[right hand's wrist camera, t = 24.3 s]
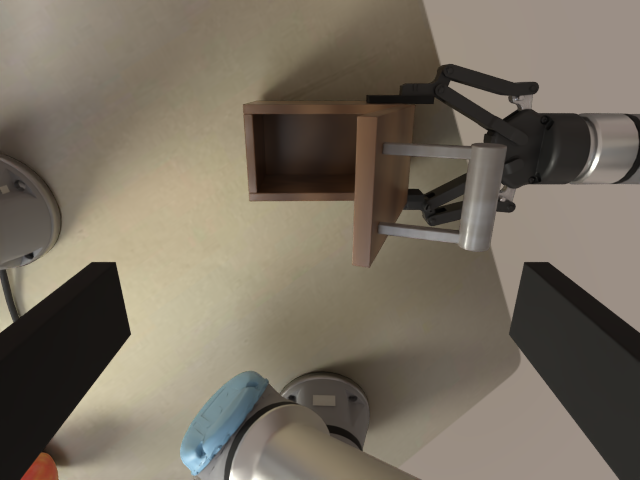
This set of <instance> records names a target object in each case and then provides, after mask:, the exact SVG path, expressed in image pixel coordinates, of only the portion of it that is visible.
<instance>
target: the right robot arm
mask: <svg viewBox="0 0 640 480" xmlns="http://www.w3.org/2000/svg"><path fill="white" fill-rule="evenodd" d="M60 225H61V221H60V213H59V209H58V205H57V203H56V200H55V198H54V196H53V194H52V192H51V191H50V189H49V188H48V186H47V185H46V184H45V183H44V181H43V180H42V179H41V178H40V177H39V176H38V175H37V174H36V173H35V172H34V171H32V170H31V169H30V168H29V167H27V166H26V165H24V164H23V163H21V162H19V161H17V160H15V159H13V158H11V157H9V156H6V155H3V154H0V279H1V283H2V287H3V291H4V295H5V299H6V302H7V305H8V308H9V311H10V314H11V317H12V320H13V322H14V323H12V324H11V325H10V326H9V327H7V328H6V329H5V330H3V331H2V332H1V333H0V480H21V478H22V477H23V476H24V474H25V473H26V472H27V470H28V469H29V468H30V467H31V465H32V464H33V463H34V461H35V460H36V459H37V457H38V456H39V455H40V453H41V452H42V451H43V449H44V448H45V447H46V445H47V444H48V443H49V442H50V440H51V439H52V438H53V436H54V435H55V434H56V432H57V431H58V430H59V428H60V427H61V426H62V424H63V423H64V422H65V420H66V419H67V418H68V417H69V415H70V414H71V413H72V411H73V410H74V409H75V407H76V406H77V405H78V403H79V402H80V401H81V399H82V398H83V397H84V395H85V394H86V393H87V392H88V390H89V389H90V388H91V386H92V385H93V384H94V382H95V381H96V380H97V378H98V377H99V376H100V374H101V373H102V372H103V370H104V369H105V368H106V367H107V365H108V364H109V363H110V361H111V360H112V359H113V357H114V356H115V355H116V353H117V352H118V351H119V349H120V348H121V347H122V346H123V344H124V343H125V342H126V340H127V339H128V338H129V336H130V335H131V332H130V327H129V323H128V318H127V313H126V309H125V304H124V299H123V294H122V290H121V285H120V280H119V276H118V271H117V266H116V262H91V263H90V264H89V265H88V266H86V267H85V268H84V269H82V270H81V271H80V272H78V273H77V274H76V275H75V276H73V277H72V278H71V279H69V280H68V281H67V282H66V283H64V284H63V285H62V286H60V287H59V288H58V289H56V290H55V291H54V292H53V293H51V294H50V295H49V296H47V297H46V298H45V299H44V300H42V301H41V302H40V303H38V304H37V305H36V306H34V307H33V308H32V309H31V310H29V311H28V312H27V313H25V314H24V315H23V316H22V317H20V318H19V316H18V313H17V310H16V307H15V304H14V301H13V297H12V293H11V289H10V285H9V281H8V276H7V272H6V269H9V268H14V267H20V266H24V265H27V264H29V263H32V262H33V261H35V260H37V259H38V258H40V257H42V256H43V255H45V254H46V253H47V252H48V251H50V250H51V248H52V247H53V246H54V244H55V243H56V241H57V239H58V236H59V232H60ZM509 335H510V336H511V338H512V339H513V340H514V342H515V343H516V344H517V346H518V347H519V348H520V349H521V351H522V352H523V353H524V355H525V356H526V357H527V359H528V360H529V361H530V363H531V364H532V365H533V367H534V368H535V369H536V370H537V372H538V373H539V374H540V376H541V377H542V378H543V380H544V381H545V382H546V384H547V385H548V386H549V388H550V389H551V390H552V392H553V393H554V394H555V395H556V397H557V398H558V399H559V401H560V402H561V403H562V405H563V406H564V407H565V409H566V410H567V411H568V413H569V414H570V415H571V416H572V418H573V419H574V420H575V422H576V423H577V424H578V426H579V427H580V428H581V430H582V431H583V432H584V433H585V435H586V436H587V438H588V439H589V440H590V442H591V443H592V444H593V445H594V447H595V448H596V449H597V451H598V452H599V453H600V455H601V456H602V457H603V459H604V460H605V461H606V463H607V464H608V465H609V467H610V468H611V469H612V470H613V472H614V473H615V474H616V476H617V477H618V478H619V480H640V333H639V332H638V331H637V330H635V329H634V328H633V327H631V326H630V325H629V324H628V323H626V322H625V321H624V320H622V319H621V318H620V317H618V316H617V315H616V314H615V313H613V312H612V311H611V310H609V309H608V308H607V307H606V306H604V305H603V304H602V303H600V302H599V301H598V300H596V299H595V298H594V297H593V296H591V295H590V294H589V293H587V292H586V291H585V290H583V289H582V288H581V287H580V286H578V285H577V284H576V283H574V282H573V281H572V280H571V279H569V278H568V277H567V276H565V275H564V274H563V273H562V272H560V271H559V270H558V269H556V268H555V267H554V266H552V265H551V264H550V263H549V262H524V266H523V271H522V276H521V280H520V285H519V290H518V295H517V299H516V304H515V309H514V313H513V318H512V323H511V327H510V332H509Z"/></svg>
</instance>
